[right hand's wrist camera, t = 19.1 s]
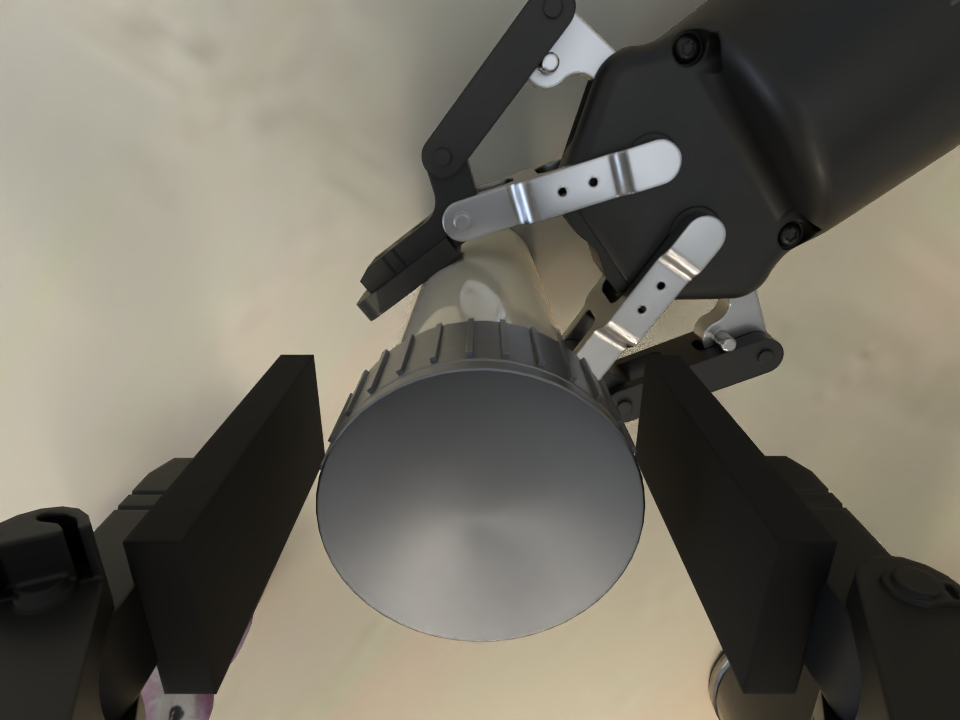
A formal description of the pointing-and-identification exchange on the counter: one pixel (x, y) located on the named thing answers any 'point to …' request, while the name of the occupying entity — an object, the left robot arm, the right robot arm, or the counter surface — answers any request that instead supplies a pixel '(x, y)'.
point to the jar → (484, 289)
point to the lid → (480, 484)
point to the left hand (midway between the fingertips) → (420, 365)
